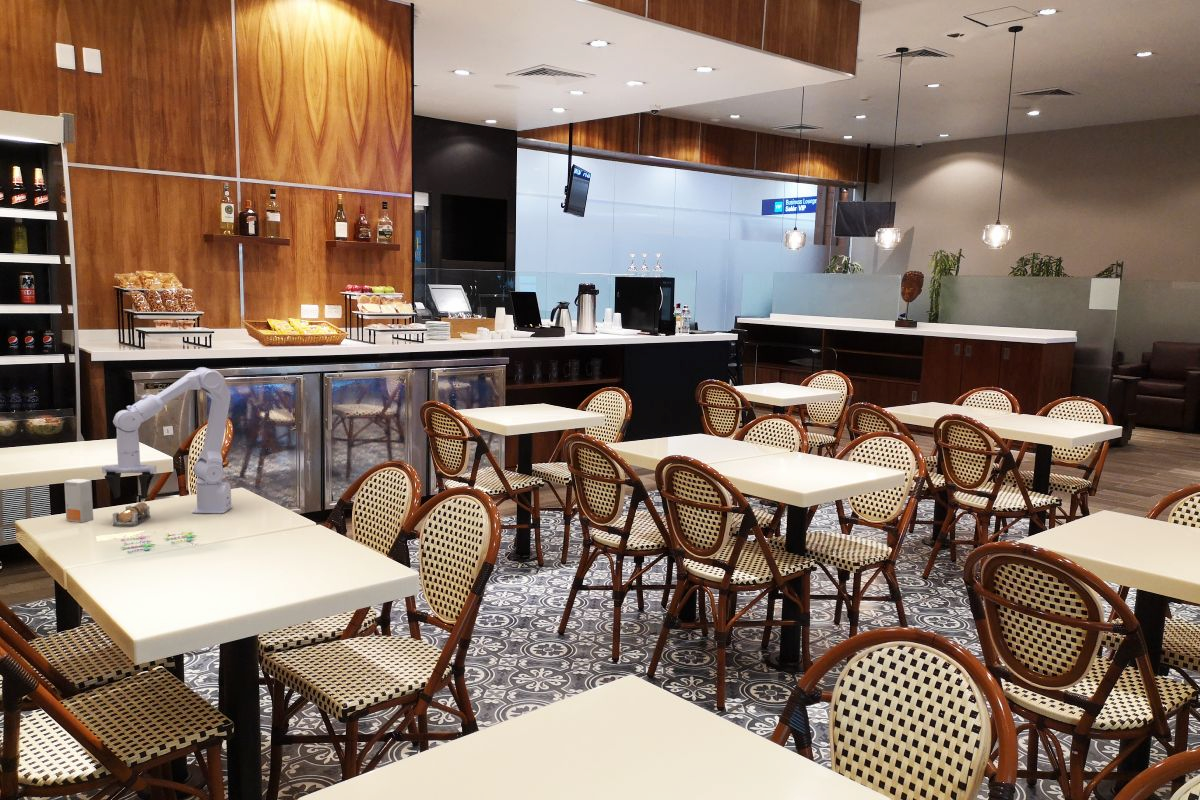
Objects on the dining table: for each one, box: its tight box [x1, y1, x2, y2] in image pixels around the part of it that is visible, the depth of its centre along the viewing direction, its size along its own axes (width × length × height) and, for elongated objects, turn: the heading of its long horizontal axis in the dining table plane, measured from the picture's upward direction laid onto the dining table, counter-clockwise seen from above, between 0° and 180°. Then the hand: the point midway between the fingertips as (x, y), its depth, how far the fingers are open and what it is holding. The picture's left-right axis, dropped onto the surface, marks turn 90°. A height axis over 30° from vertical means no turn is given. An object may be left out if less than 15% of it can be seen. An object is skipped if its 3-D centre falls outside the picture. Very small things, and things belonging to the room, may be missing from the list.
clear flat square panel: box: [95, 530, 197, 553], centre depth 244 cm, size 30×30×2 cm
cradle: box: [112, 505, 151, 527], centre depth 263 cm, size 6×10×4 cm, turn 3°
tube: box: [118, 501, 148, 523], centre depth 263 cm, size 12×3×3 cm, turn 3°
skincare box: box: [63, 478, 94, 524], centre depth 263 cm, size 6×4×12 cm
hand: (130, 497), depth 263 cm, fingers open, 7 cm apart
